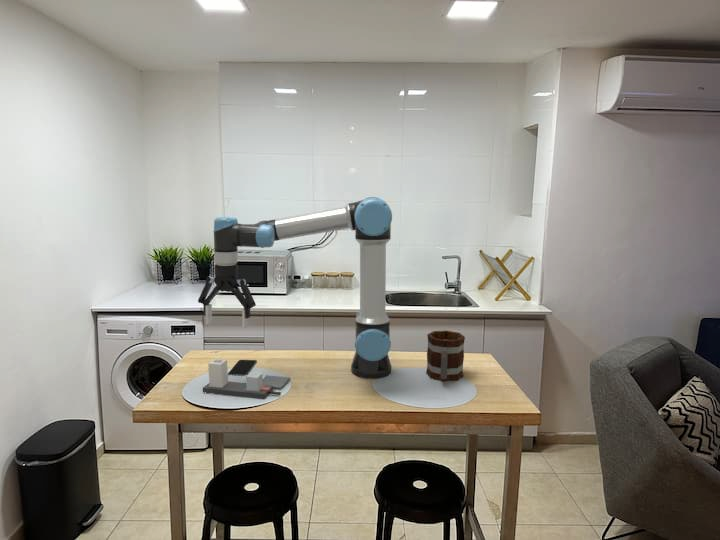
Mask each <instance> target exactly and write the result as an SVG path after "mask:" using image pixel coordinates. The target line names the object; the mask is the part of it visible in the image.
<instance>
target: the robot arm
mask: <svg viewBox="0 0 720 540" xmlns="http://www.w3.org/2000/svg"><path fill="white" fill-rule="evenodd" d="M392 213H393V212H392V209H391V207H390V206H389V204H388V203H387V202H386V201H385V200H383V199H382V198H379V197H377V196H375V197H374V196H371V197H366V198H364V199H362V200H358V201H354V202H350V203H347V204H346V205H345V206H344V207H337V208H333V209H326V210H322V211H321V210H320V211H316V212H311V213H310V212H309V213H304V214H299V215H297V214H296V215H293V216H287V217H286V216H285V217H281V218H276V219H270V220H262V221H258V222H257V223H253V224H252V223H251V224H250V223H249V224H248V223H247V224H246V223H245V224H243V223H239V222H238V219H237V218H236V217H235V216H234V217H230V216H220V217H216V218H215V219H214V220H213V221H214V222H213V240H214V241H213V245H214V246H213V247H214V249H213V253H214V254H213V257H214V259H213V260H214V261H213V262H214V266H213V267H214V276H212V275H209V276H207V277H206V279H205V283H204V284H205V285H204V286H203V289H202V291H201V293H200V295H199V297H198V300H197V302H198V303H199V304H202V305H203V315H205V325H210V324H212V323H213V307H212V305H213V304H212V303H211V302H212V300H213V299H214V298H215V297H216V296H217V294H219V292H228V293H230V292H231V293H232V294H233V295H234V296H235V298H236V299H237V300H238V302H239V303H240V304H241V306H242V307H243V308H242V309H241V317H242V319H241V321H242V323H241V328H242V329H246V328H247V327H249V319H250V318H251V309H252V308H254V307H256V305H257V304H256V302H255V300H254V297H253V295H252V293H251V291H250V289H249V287H248V280H247V279H246V278H242V279H239V278H238V275H239V273H238V272H239V271H238V270H239V268H238V267H239V266H238V257H239V255H238V248H243V247H246V248H260V249H264V248H271V247H273V246H274V243H275V242H276V241H282V240H287V239H291V238H292V239H294V238H298V237H299V238H300V237H304V236H312V235H318V234H323V233H329V232H330V233H331V232H334V231H340V230H346V229H349V230H351V231H354V233H355V236H354V237H355V241H357V243H358V244H359V311H357V312H356V314H355V315H356V316H355V341H354V347H355V353H354V355H353V358H352V362H351V366H350V372H351V374H352V375H354V376H355V377H358V378H362V379H367V380H368V379H370V380H373V379H383V378H385V377H389V376H390V375H391V374H392V363H391V360H390V356H389V352H390V350H391V348H392V347H391V345H392V342H391V337H390V336H391V335H390V333H391V332H390V331H391V330H390V329H391V327H390V325H391V322H390V321H391V320H390V318H389V316H388V313H387V312H386V293H387V292H386V291H387V290H386V286H387V285H386V283H387V282H386V279H387V278H386V277H387V275H386V274H387V273H386V272H387V267H386V266H387V265H386V263H387V261H386V260H387V253H386V252H387V244H388V242H389V241H391V239H392V238H391V237H392V236H391V235H392V234H391V232H392V225H391V224H392V221H393V214H392ZM213 284H215V286H214V288H213V289H212V291H211V288H212V285H213ZM238 285H239V286H240V288H239V286H238ZM210 291H211V292H210ZM209 292H210V293H209Z"/></svg>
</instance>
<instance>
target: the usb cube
mask: <svg viewBox="0 0 720 540" xmlns="http://www.w3.org/2000/svg"><path fill="white" fill-rule="evenodd" d="M263 378H264V377H263V373H262V372H253V371H250V372H249V374H248V375H247V376H245V383H246V389H247V390H255V391H258V390H259V389H260V388H261V387H262V386H263Z"/></svg>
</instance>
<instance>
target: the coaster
mask: <svg viewBox="0 0 720 540" xmlns="http://www.w3.org/2000/svg"><path fill="white" fill-rule="evenodd" d="M262 378H263V385H271V386H273V391H276V390H277V391H282V390H283V389H284V388H285V387H286V385H288V384H289V382H290V381H291V377H290V376H289V377H287V376H277V375H276V376H275V375H265V376H264V377H262Z"/></svg>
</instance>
